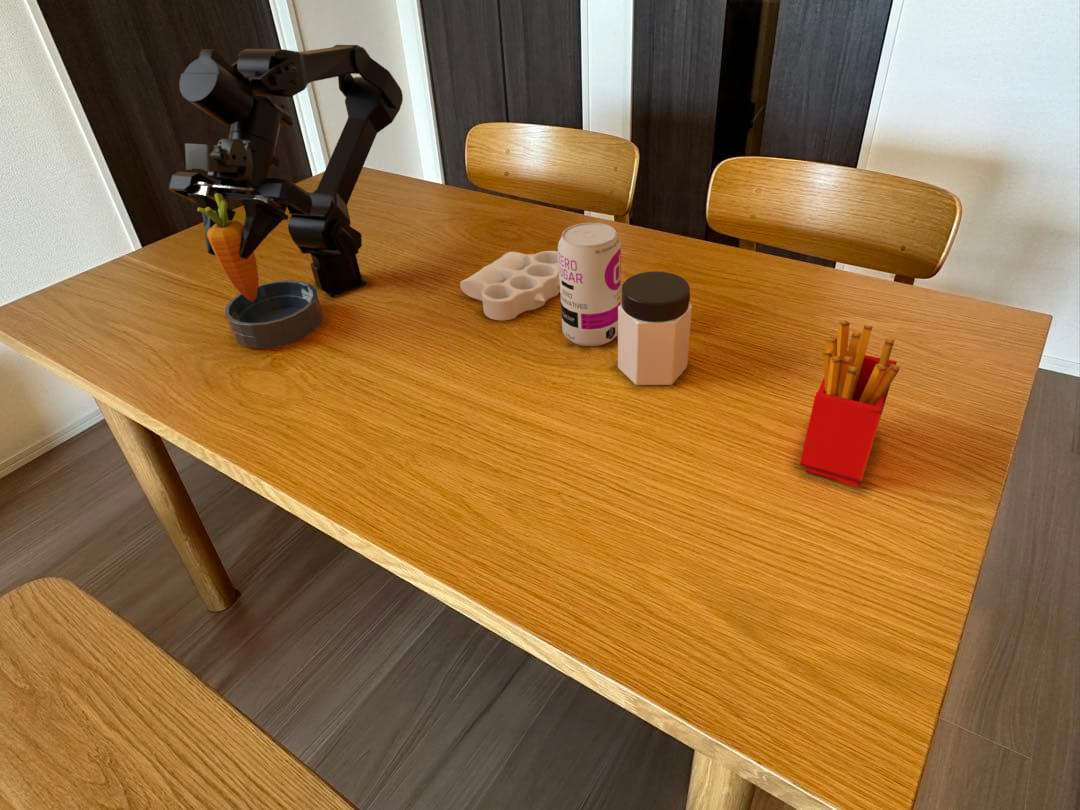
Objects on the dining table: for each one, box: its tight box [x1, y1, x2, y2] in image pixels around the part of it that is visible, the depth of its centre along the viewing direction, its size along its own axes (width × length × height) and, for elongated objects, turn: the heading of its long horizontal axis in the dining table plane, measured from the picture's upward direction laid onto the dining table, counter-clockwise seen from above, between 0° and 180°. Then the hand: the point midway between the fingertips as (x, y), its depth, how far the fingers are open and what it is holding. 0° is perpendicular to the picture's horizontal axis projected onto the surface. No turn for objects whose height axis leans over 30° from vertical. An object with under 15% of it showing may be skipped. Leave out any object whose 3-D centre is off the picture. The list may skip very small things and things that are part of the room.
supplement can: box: [557, 222, 622, 347], centre depth 94 cm, size 8×8×15 cm
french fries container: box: [799, 320, 901, 489], centre depth 72 cm, size 7×9×14 cm
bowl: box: [224, 279, 325, 349], centre depth 104 cm, size 13×13×4 cm
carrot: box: [197, 193, 260, 301], centre depth 92 cm, size 5×5×15 cm
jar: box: [617, 270, 693, 386], centre depth 87 cm, size 9×8×12 cm
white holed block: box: [459, 250, 560, 322], centre depth 108 cm, size 3×18×15 cm
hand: (227, 256), depth 91 cm, fingers closed on carrot, 5 cm apart
